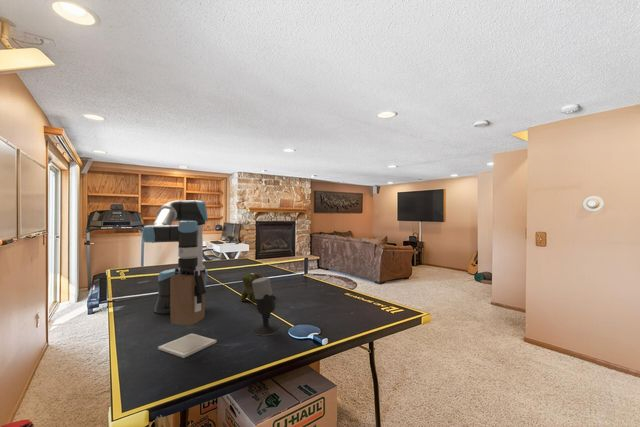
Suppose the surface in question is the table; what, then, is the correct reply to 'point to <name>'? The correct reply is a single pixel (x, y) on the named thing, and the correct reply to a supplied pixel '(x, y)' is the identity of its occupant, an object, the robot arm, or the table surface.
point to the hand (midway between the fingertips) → (188, 309)
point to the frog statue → (249, 285)
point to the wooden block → (184, 300)
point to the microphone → (264, 306)
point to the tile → (187, 345)
